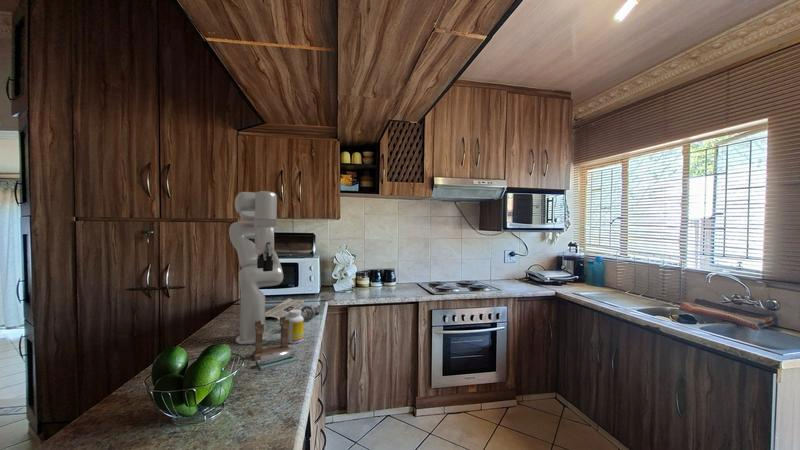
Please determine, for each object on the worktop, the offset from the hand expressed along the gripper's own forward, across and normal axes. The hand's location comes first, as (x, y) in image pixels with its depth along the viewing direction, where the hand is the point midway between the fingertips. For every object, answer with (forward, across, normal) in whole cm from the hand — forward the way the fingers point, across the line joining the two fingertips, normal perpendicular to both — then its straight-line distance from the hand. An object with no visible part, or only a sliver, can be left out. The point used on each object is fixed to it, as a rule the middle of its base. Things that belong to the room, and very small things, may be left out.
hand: (264, 269), depth 107 cm
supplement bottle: (+32, -7, +14) cm, 36 cm away
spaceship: (+33, -30, +27) cm, 52 cm away
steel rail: (+31, +8, +3) cm, 32 cm away
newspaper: (+33, -57, +23) cm, 69 cm away
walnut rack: (+32, 0, +3) cm, 32 cm away
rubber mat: (+32, +8, +3) cm, 33 cm away
